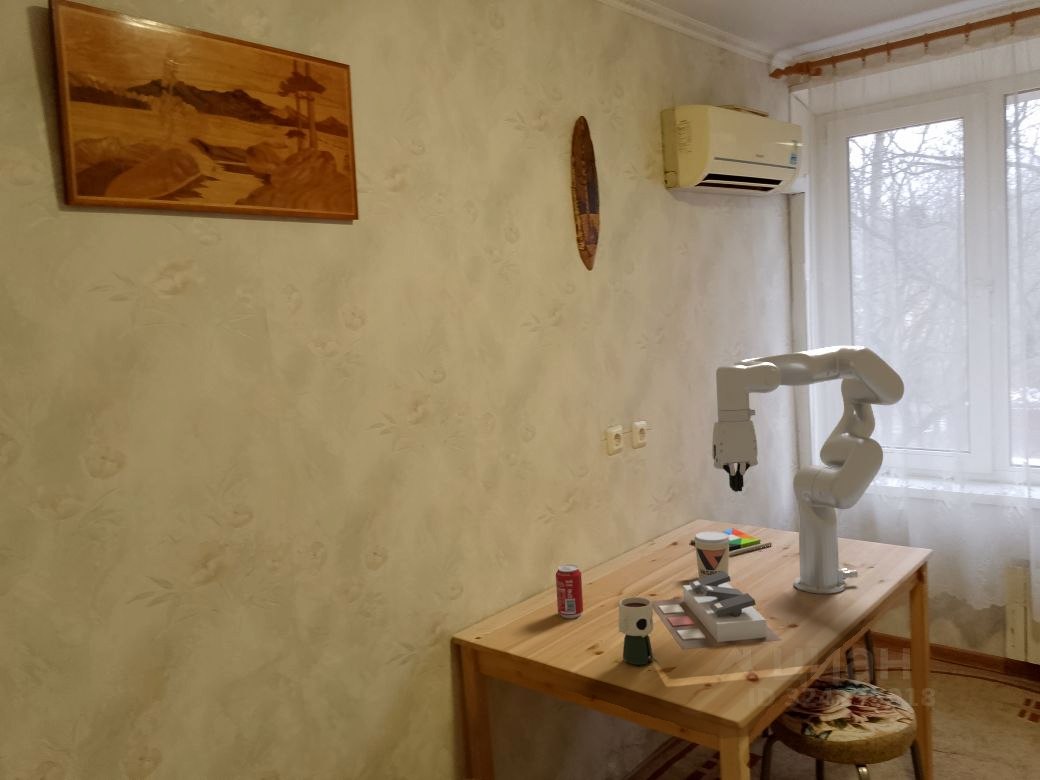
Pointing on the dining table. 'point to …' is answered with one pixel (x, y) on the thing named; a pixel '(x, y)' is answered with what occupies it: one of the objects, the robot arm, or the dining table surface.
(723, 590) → the rocker middle
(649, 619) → the character mug
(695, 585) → the block
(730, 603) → the rocker near
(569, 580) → the beverage can
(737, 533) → the wooden puzzle
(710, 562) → the coffee cup
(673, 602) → the chart board
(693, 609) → the switch housing
